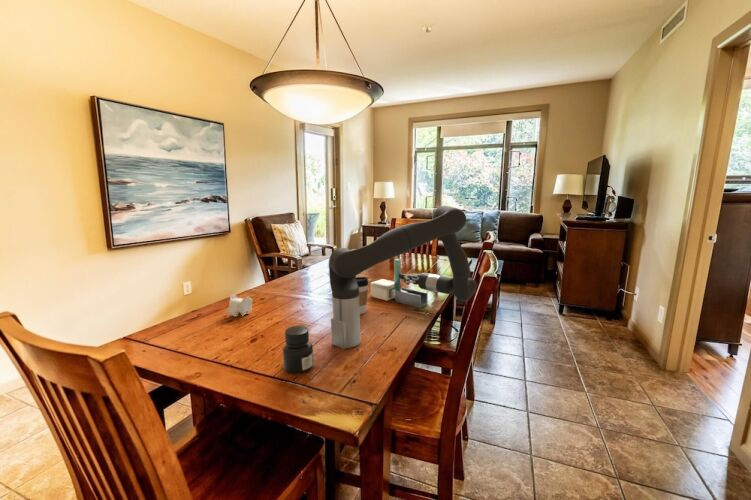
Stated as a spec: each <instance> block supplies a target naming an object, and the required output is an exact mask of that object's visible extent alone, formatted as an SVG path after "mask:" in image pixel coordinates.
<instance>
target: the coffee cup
mask: <svg viewBox="0 0 751 500" xmlns="http://www.w3.org/2000/svg"><path fill="white" fill-rule="evenodd" d="M356 281H357V284H358V287H359V305H360V315H362V314H365V313H366V312H367V304H368V293H369V292H368V290H369V289H368V286H369V279H368V277H367V276H359V277H357V276H356Z"/></svg>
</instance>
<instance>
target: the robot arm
mask: <svg viewBox="0 0 751 500" xmlns="http://www.w3.org/2000/svg"><path fill="white" fill-rule="evenodd" d="M466 222H467V215H466V213H465V212H464V211H463V210H462V209H460V208H457V207H455V206H454V207H453V206H450V205H441V206H438V207H437V208H435V210H434V212H433V214H432V219H429V220H426V221H421V222H412V223H411V222H410V223H407V224H403V225H401V226H400V225H399V226H398V227H395V228H392V229H390V230H389V231H388V230H387V231H386V232H385V233H382V234H381V235H380V236H378V237H377V239H375V240H374V241H372V242H371V243H368V244H366V245H364V246H361V247H359V248H355V249H349V248H347V247H338V248H336V249H334V250H333V251H332V252H331V254H330V255H329V260H328V270H329V285H330V288H331V297H332V298H331V299H332V317H331V318H330V325H331V326H330V327H331V328H330V330H331V344H332V345H334V346H336V347H337V348H340V349H342V350H345V349H350V348H355V347H357V346H359V345H360V344H361V314H360V305H359V287H358V284H357V281H356V277H357V276H358V275H359V274H361V273H363V272H366V270H369V269H370V268H372V267H374V266H376V265H378V264H380V263H383V262H385V261H388V260H391V259H392V258H393V259H394V258H395V257H397V256H400V255H403V254H405V253H407V252H409V251H410V252H411V251H412V250H414V249H416V248H418V247H421V246H424V245H426V244H427V243H430V242H432V241H434V240H437V239H441V242H442V245H443V247H444V249H445V252H446V255H447V258H448V262H449V265H450V270H451V273H452V277H447V276H443V275H440V274H435V273H429V272H425V271H424V272H422V273H411V274H409V273H408V274H405V273H401V274H399V278H400V279H401V280H403V283H404V284H406V285H408V286H409V285H410V284H413V285H415V286H418V288H419V289H420V290H424V291H429V292H433V293H440V294H445V295H451V294H452V293H453V294H454V297H455V298H456V300H458V301H460V302H464V303H466V302H468V301H470V299H471V298H472V297H473V295H474V294H475V293H476V292H477V290H476V288H477V285H478V282H477V281H476V280H475V279H474V278H471V277H470V276H471V273H472V272H471V268H470V267H471V266H470V264H469V260H468V256H467V254H466V252H465V250H464V248H463V247H462V245H461V244H460V241H459V240H458V237H457V235H456V233H458V232H460V231H461V230H462V229H464V227H465V225H466ZM477 289H478V288H477Z"/></svg>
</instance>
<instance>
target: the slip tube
mask: <svg viewBox="0 0 751 500" xmlns="http://www.w3.org/2000/svg"><path fill="white" fill-rule="evenodd" d="M399 274H402V259H400V258H393V277H394V278H393V281H394V288H392V289H389V297H392V298H393V299H395V290H399V291H403V292H407V293H408V291H405V290H402V279H400V278H399Z"/></svg>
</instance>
